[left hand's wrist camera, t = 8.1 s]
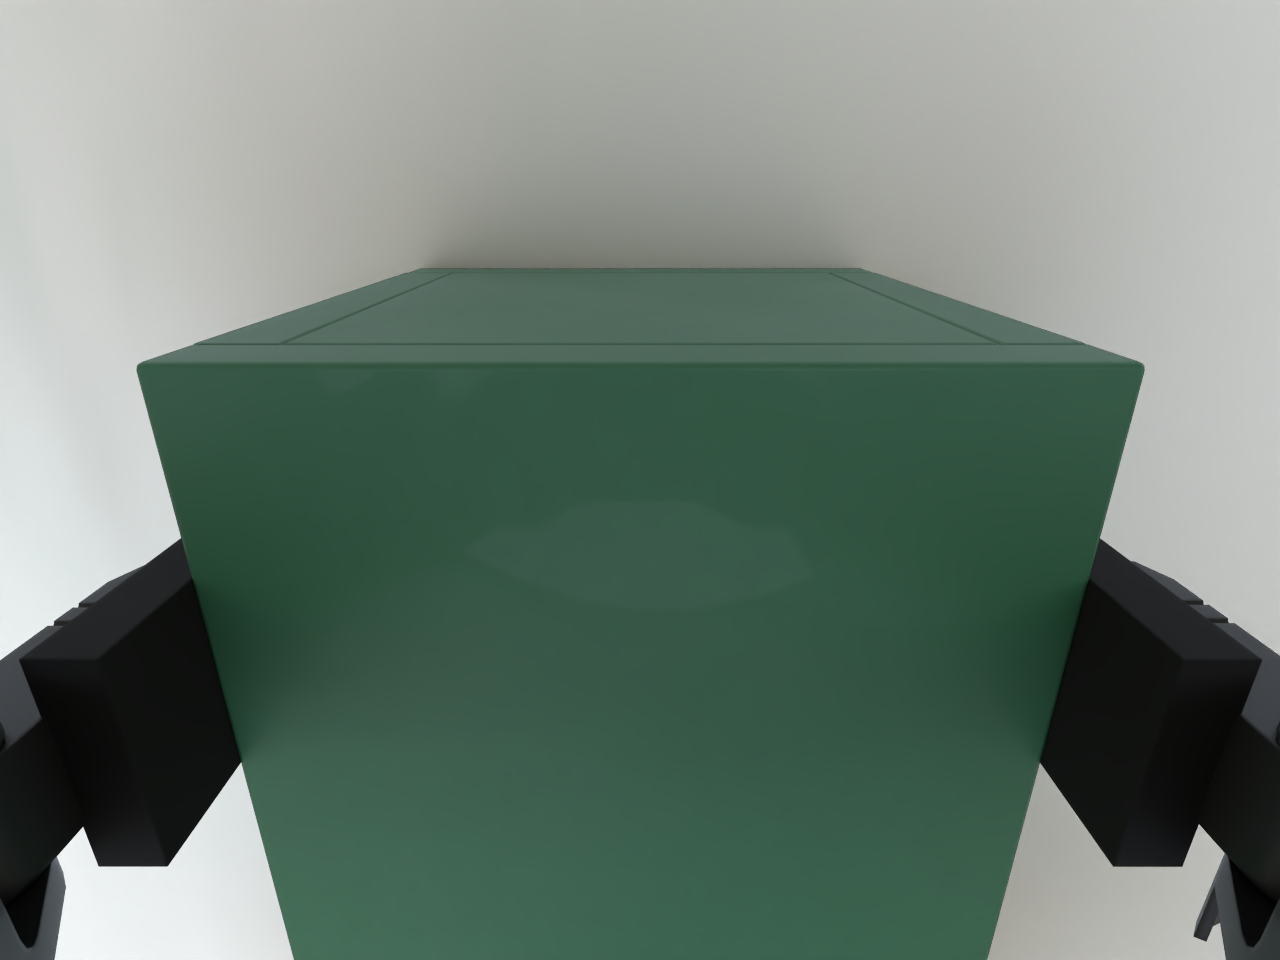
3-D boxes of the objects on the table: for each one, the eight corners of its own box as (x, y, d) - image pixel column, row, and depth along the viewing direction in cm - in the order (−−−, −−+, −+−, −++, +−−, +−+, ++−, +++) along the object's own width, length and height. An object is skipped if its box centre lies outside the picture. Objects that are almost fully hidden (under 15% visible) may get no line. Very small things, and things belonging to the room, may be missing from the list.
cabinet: (795, 870, 24) (895, 1308, 14) (485, 871, 24) (384, 1307, 14) (863, 268, 17) (1150, 363, 7) (418, 268, 17) (130, 362, 7)
